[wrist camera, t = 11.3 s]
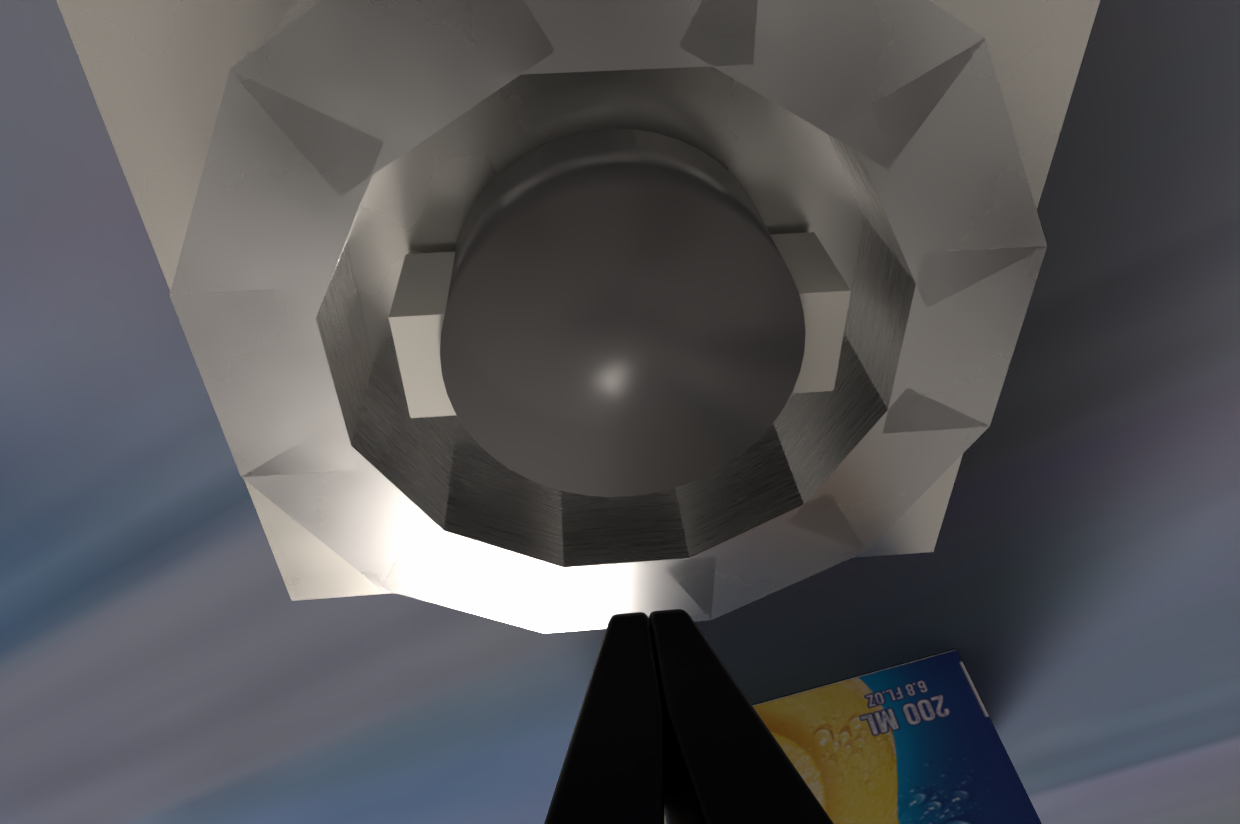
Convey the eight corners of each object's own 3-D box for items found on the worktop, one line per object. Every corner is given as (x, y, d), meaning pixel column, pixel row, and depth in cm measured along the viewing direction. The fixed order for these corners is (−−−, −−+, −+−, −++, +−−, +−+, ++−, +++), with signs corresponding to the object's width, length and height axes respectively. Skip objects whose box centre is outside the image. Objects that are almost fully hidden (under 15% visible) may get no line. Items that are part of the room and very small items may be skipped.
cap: (789, 401, 18) (822, 482, 16) (440, 423, 17) (427, 510, 15) (826, 118, 14) (875, 176, 12) (386, 138, 14) (359, 201, 12)
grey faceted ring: (924, 534, 22) (977, 635, 19) (297, 581, 21) (264, 693, 18) (1152, -257, 12) (1322, -268, 9) (-11, -232, 11) (-175, -236, 8)
